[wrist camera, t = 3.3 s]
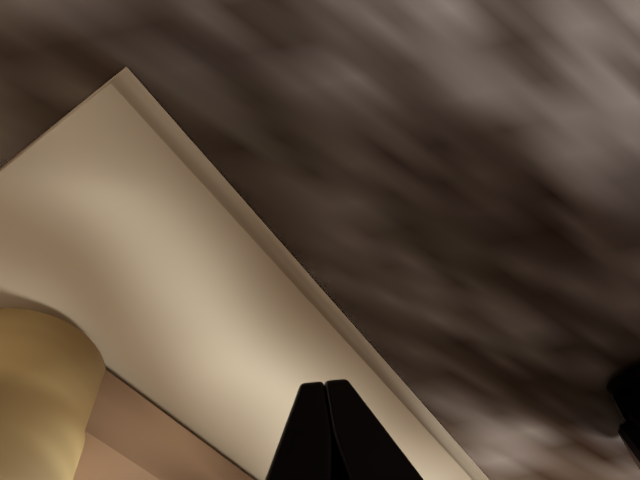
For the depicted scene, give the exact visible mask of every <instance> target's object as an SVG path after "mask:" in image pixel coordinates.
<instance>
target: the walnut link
mask: <svg viewBox="0 0 640 480" xmlns="http://www.w3.org/2000/svg"><path fill="white" fill-rule="evenodd" d="M0 480H254V479H252V478H251V477H250V476H248V475H247V474H246V473H244V472H243V471H242V470H240V469H239V468H238V467H236V466H235V465H233V464H232V463H231V462H229V461H228V460H227V459H225V458H224V457H223V456H221V455H220V454H219V453H217V452H216V451H215V450H213V449H212V448H211V447H209V446H208V445H207V444H205V443H204V442H203V441H201V440H200V439H199V438H197V437H196V436H195V435H193V434H192V433H191V432H189V431H188V430H186V429H185V428H184V427H182V426H181V425H180V424H178V423H177V422H176V421H174V420H173V419H172V418H170V417H169V416H168V415H166V414H165V413H164V412H162V411H161V410H160V409H158V408H157V407H156V406H154V405H153V404H152V403H150V402H149V401H148V400H146V399H145V398H143V397H142V396H141V395H139V394H138V393H137V392H135V391H134V390H133V389H131V388H130V387H129V386H127V385H126V384H125V383H123V382H122V381H121V380H119V379H118V378H117V377H115V376H114V375H113V374H111V373H110V372H109V371H107V370H106V367H105V363H104V360H103V357H102V355H101V353H100V351H99V350H98V348H97V347H96V345H95V344H94V343H93V342H92V341H91V340H90V338H89V337H87V336H86V335H85V334H84V333H83V332H82V331H80V330H79V329H77V328H76V327H74V326H73V325H71V324H69V323H68V322H66V321H64V320H62V319H59V318H57V317H55V316H52V315H49V314H46V313H43V312H38V311H34V310H28V309H20V308H0Z"/></svg>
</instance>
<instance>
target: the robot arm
mask: <svg viewBox="0 0 640 480" xmlns="http://www.w3.org/2000/svg"><path fill="white" fill-rule="evenodd" d="M607 390H608V392H609V394H610V396H611V398H612V400H613V401H614V403H615V405H616V407H617V409H618V411H619V412H620V414H621V416H622V418H623V420H624V423H622V424H620V425H619V429H618V433H619V435H620V437H621V439H622V440H623V442H624V444H625V446H626V447H627V449H628V451H629V453H630V454H631V456H632V458H633V460H634V461H635V463H636V464H637V466H638V467H639V469H640V365H639V366H637V367H635V368H633V369H631V370H629V371H627V372H625V373H623V374H621V375H619V376H617V377H615V378H614V379H612V380H611V381H610V382H609V383H608V386H607ZM265 480H424V479H423V478H422V477H421V475H420V474H419V473H418V471H417V470H416V469H415V467H414V466H413V465H412V464H411V462H410V461H409V460H408V458H407V457H406V456H405V454H404V453H403V452H402V450H401V449H400V448H399V446H398V445H397V444H396V443H395V441H394V440H393V439H392V437H391V436H390V435H389V433H388V432H387V431H386V429H385V428H384V427H383V425H382V424H381V423H380V422H379V420H378V419H377V418H376V416H375V415H374V414H373V412H372V411H371V410H370V408H369V407H368V406H367V404H366V403H365V402H364V401H363V399H362V398H361V397H360V395H359V394H358V393H357V391H356V390H355V389H354V387H353V386H352V385H351V384H350V382H349V381H348V380H346V379H339V380H329V381H326V382H325V384H323V383H322V382H310V383H303V384H301V385H300V387H299V389H298V392H297V394H296V397H295V400H294V403H293V405H292V408H291V411H290V413H289V416H288V419H287V422H286V424H285V427H284V430H283V432H282V435H281V438H280V441H279V443H278V446H277V449H276V451H275V454H274V457H273V460H272V462H271V465H270V468H269V470H268V473H267V476H266V479H265Z"/></svg>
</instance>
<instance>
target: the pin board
mask: <svg viewBox="0 0 640 480" xmlns="http://www.w3.org/2000/svg"><path fill="white" fill-rule="evenodd" d="M0 308H20V309H28V310H34V311H38V312H43V313H46V314H49V315H52V316H55V317H57V318H59V319H62V320H64V321H66V322H68V323H69V324H71V325H73V326H74V327H76V328H77V329H79V330H80V331H82V332H83V333H84V334H85V335H86V336H87V337H89V338H90V340H91V341H92V342H93V343H94V344H95V345H96V347H97V348H98V350H99V351H100V353H101V355H102V357H103V360H104V363H105V367H106V370H107V371H109V372H110V373H111V374H113V375H114V376H115V377H117V378H118V379H119V380H121V381H122V382H123V383H125V384H126V385H127V386H129V387H130V388H131V389H133V390H134V391H135V392H137V393H138V394H139V395H141V396H142V397H143V398H145V399H146V400H148V401H149V402H150V403H152V404H153V405H154V406H156V407H157V408H158V409H160V410H161V411H162V412H164V413H165V414H166V415H168V416H169V417H170V418H172V419H173V420H174V421H176V422H177V423H178V424H180V425H181V426H182V427H184V428H185V429H186V430H188V431H189V432H191V433H192V434H193V435H195V436H196V437H197V438H199V439H200V440H201V441H203V442H204V443H205V444H207V445H208V446H209V447H211V448H212V449H213V450H215V451H216V452H217V453H219V454H220V455H221V456H223V457H224V458H225V459H227V460H228V461H229V462H231V463H232V464H233V465H235V466H236V467H238V468H239V469H240V470H242V471H243V472H244V473H246V474H247V475H248V476H250V477H251V478H252V479H254V480H265V479H266V476H267V473H268V470H269V468H270V465H271V462H272V460H273V457H274V454H275V451H276V449H277V446H278V443H279V441H280V438H281V435H282V432H283V430H284V427H285V424H286V422H287V419H288V416H289V413H290V411H291V408H292V405H293V403H294V400H295V397H296V394H297V392H298V389H299V387H300V385H301V384H303V383H310V382H322V383H323V384H325V382H326V381H329V380H339V379H346V380H348V381H349V382H350V384H351V385H352V386H353V387H354V389H355V390H356V391H357V393H358V394H359V395H360V397H361V398H362V399H363V401H364V402H365V403H366V404H367V406H368V407H369V408H370V410H371V411H372V412H373V414H374V415H375V416H376V418H377V419H378V420H379V422H380V423H381V424H382V425H383V427H384V428H385V429H386V431H387V432H388V433H389V435H390V436H391V437H392V439H393V440H394V441H395V443H396V444H397V445H398V446H399V448H400V449H401V450H402V452H403V453H404V454H405V456H406V457H407V458H408V460H409V461H410V462H411V464H412V465H413V466H414V467H415V469H416V470H417V471H418V473H419V474H420V475H421V477H422V478H423V479H424V480H489V479H488V478H487V477H486V475H485V474H484V473H483V472H482V471H481V470H480V469H479V467H478V466H477V465H476V464H475V463H474V462H473V461H472V459H471V458H470V457H469V456H468V455H467V454H466V453H465V451H464V450H463V449H462V448H461V447H460V446H459V445H458V443H457V442H456V441H455V440H454V439H453V438H452V437H451V436H450V434H449V433H448V432H447V431H446V430H445V429H444V428H443V426H442V425H441V424H440V423H439V422H438V421H437V420H436V418H435V417H434V416H433V415H432V414H431V413H430V412H429V410H428V409H427V408H426V407H425V406H424V405H423V404H422V402H421V401H420V400H419V399H418V398H417V397H416V396H415V395H414V393H413V392H412V391H411V390H410V389H409V388H408V387H407V385H406V384H405V383H404V382H403V381H402V380H401V379H400V377H399V376H398V375H397V374H396V373H395V372H394V371H393V369H392V368H391V367H390V366H389V365H388V364H387V363H386V361H385V360H384V359H383V358H382V357H381V356H380V355H379V354H378V352H377V351H376V350H375V349H374V348H373V347H372V346H371V344H370V343H369V342H368V341H367V340H366V339H365V338H364V336H363V335H362V334H361V333H360V332H359V331H358V330H357V328H356V327H355V326H354V325H353V324H352V323H351V322H350V320H349V319H348V318H347V317H346V316H345V315H344V314H343V313H342V311H341V310H340V309H339V308H338V307H337V306H336V305H335V303H334V302H333V301H332V300H331V299H330V298H329V297H328V295H327V294H326V293H325V292H324V291H323V290H322V289H321V287H320V286H319V285H318V284H317V283H316V282H315V281H314V279H313V278H312V277H311V276H310V275H309V274H308V273H307V272H306V270H305V269H304V268H303V267H302V266H301V265H300V264H299V262H298V261H297V260H296V259H295V258H294V257H293V256H292V254H291V253H290V252H289V251H288V250H287V249H286V248H285V246H284V245H283V244H282V243H281V242H280V241H279V240H278V238H277V237H276V236H275V235H274V234H273V233H272V232H271V231H270V229H269V228H268V227H267V226H266V225H265V224H264V223H263V221H262V220H261V219H260V218H259V217H258V216H257V215H256V213H255V212H254V211H253V210H252V209H251V208H250V207H249V205H248V204H247V203H246V202H245V201H244V200H243V199H242V197H241V196H240V195H239V194H238V193H237V192H236V191H235V190H234V188H233V187H232V186H231V185H230V184H229V183H228V182H227V180H226V179H225V178H224V177H223V176H222V175H221V174H220V172H219V171H218V170H217V169H216V168H215V167H214V166H213V164H212V163H211V162H210V161H209V160H208V159H207V158H206V156H205V155H204V154H203V153H202V152H201V151H200V150H199V149H198V147H197V146H196V145H195V144H194V143H193V142H192V141H191V139H190V138H189V137H188V136H187V135H186V134H185V133H184V131H183V130H182V129H181V128H180V127H179V126H178V125H177V123H176V122H175V121H174V120H173V119H172V118H171V117H170V115H169V114H168V113H167V112H166V111H165V110H164V109H163V108H162V106H161V105H160V104H159V103H158V102H157V101H156V100H155V98H154V97H153V96H152V95H151V94H150V93H149V92H148V90H147V89H146V88H145V87H144V86H143V85H142V84H141V82H140V81H139V80H138V79H137V78H136V77H135V76H134V74H133V73H132V72H131V71H130V70H129V69H128V68H127V67H125V68H124V69H123V70H121V71H120V72H119V73H118V74H116V75H115V76H114V77H113V78H111V79H110V80H109V81H108V82H106V83H105V84H104V85H103V86H101V87H100V88H99V89H98V90H96V91H95V92H94V93H93V94H92V95H90V96H89V97H88V98H87V99H85V100H84V101H83V102H82V103H80V104H79V105H78V106H77V107H75V108H74V109H73V110H72V111H70V112H69V113H68V114H67V115H65V116H64V117H63V118H62V119H61V120H59V121H58V122H57V123H56V124H54V125H53V126H52V127H51V128H49V129H48V130H47V131H46V132H44V133H43V134H42V135H41V136H39V137H38V138H37V139H36V140H34V141H33V142H32V143H31V144H30V145H28V146H27V147H26V148H25V149H23V150H22V151H21V152H20V153H18V154H17V155H16V156H15V157H13V158H12V159H11V160H10V161H8V162H7V163H6V164H5V165H3V166H2V167H1V168H0Z"/></svg>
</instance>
